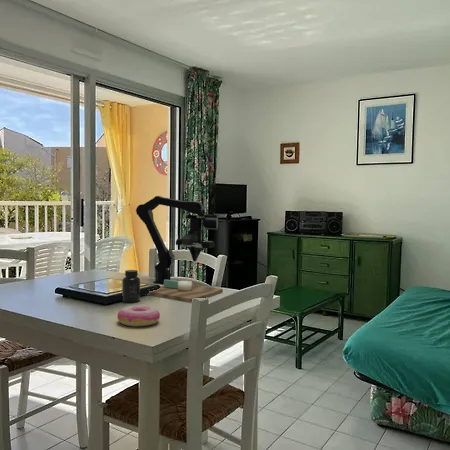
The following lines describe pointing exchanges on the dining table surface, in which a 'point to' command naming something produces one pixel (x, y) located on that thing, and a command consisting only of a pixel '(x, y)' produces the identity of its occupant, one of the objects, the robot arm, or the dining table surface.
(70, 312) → the dining table surface
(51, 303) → the dining table surface
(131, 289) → the supplement bottle
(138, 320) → the donut
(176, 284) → the green and white block
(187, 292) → the walnut base
